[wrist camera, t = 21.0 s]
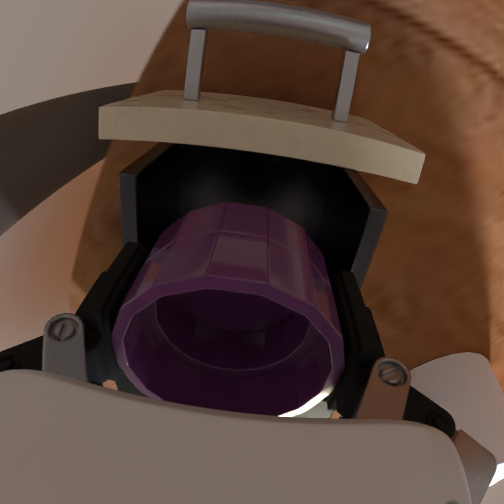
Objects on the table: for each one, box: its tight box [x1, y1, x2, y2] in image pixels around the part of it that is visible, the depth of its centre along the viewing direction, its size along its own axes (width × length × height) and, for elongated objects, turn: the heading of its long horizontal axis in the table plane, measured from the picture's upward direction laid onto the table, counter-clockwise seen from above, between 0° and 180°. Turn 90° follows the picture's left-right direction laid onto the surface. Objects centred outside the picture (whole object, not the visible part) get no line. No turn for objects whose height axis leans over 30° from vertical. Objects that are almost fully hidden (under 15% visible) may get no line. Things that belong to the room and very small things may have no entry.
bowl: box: [111, 202, 345, 417], centre depth 11 cm, size 7×7×5 cm
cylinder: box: [410, 352, 504, 486], centre depth 20 cm, size 17×17×28 cm
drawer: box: [99, 0, 426, 289], centre depth 15 cm, size 18×11×8 cm, turn 172°
